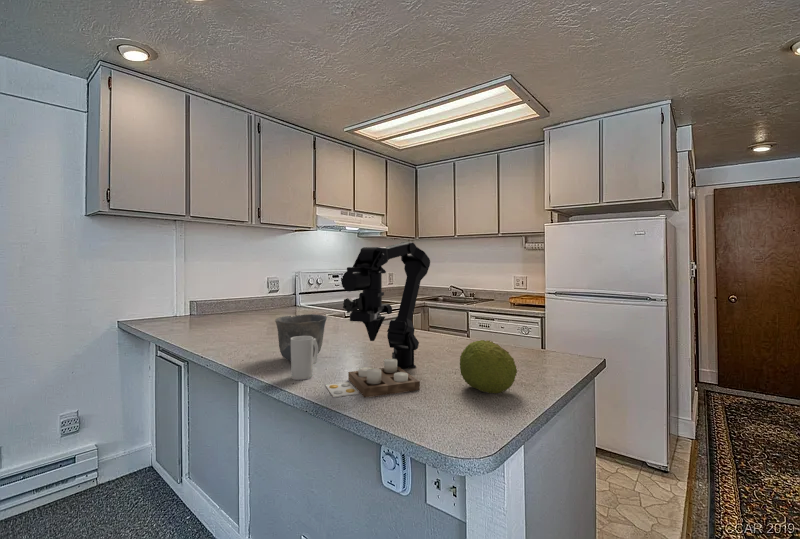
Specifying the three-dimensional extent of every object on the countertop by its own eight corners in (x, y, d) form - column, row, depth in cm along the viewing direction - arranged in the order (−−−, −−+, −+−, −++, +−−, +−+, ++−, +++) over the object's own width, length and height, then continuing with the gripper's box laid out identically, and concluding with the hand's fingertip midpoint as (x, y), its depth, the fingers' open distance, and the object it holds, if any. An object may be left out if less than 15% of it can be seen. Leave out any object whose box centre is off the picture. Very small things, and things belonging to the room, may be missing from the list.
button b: (404, 382, 114) (404, 371, 114) (410, 386, 110) (410, 375, 110) (391, 384, 112) (391, 372, 112) (396, 388, 109) (397, 377, 108)
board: (397, 373, 124) (397, 366, 124) (419, 389, 109) (419, 381, 109) (348, 379, 118) (348, 371, 118) (364, 397, 103) (364, 388, 103)
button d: (378, 378, 111) (378, 367, 111) (383, 383, 107) (383, 371, 107) (364, 380, 109) (364, 369, 109) (369, 384, 105) (369, 373, 105)
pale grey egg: (394, 368, 121) (394, 358, 121) (399, 371, 117) (399, 361, 117) (382, 369, 120) (382, 359, 119) (386, 373, 116) (386, 362, 116)
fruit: (526, 388, 110) (529, 348, 103) (492, 417, 103) (492, 376, 96) (482, 359, 122) (482, 320, 114) (449, 383, 115) (446, 344, 107)
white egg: (369, 377, 118) (369, 367, 118) (373, 381, 114) (373, 370, 114) (356, 379, 117) (356, 368, 116) (360, 383, 113) (360, 372, 113)
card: (349, 383, 115) (349, 381, 115) (359, 394, 105) (359, 392, 105) (325, 386, 112) (325, 384, 112) (333, 397, 103) (333, 395, 103)
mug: (301, 381, 116) (301, 341, 115) (286, 377, 119) (285, 338, 119) (325, 373, 124) (325, 335, 124) (310, 369, 128) (310, 333, 127)
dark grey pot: (289, 352, 151) (288, 313, 150) (333, 354, 148) (333, 314, 148) (267, 365, 133) (266, 321, 132) (317, 367, 131) (317, 322, 130)
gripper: (360, 286, 129) (360, 333, 130) (332, 291, 111) (333, 345, 112) (392, 286, 125) (392, 335, 126) (368, 292, 108) (369, 348, 108)
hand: (372, 340), depth 118 cm, fingers closed
